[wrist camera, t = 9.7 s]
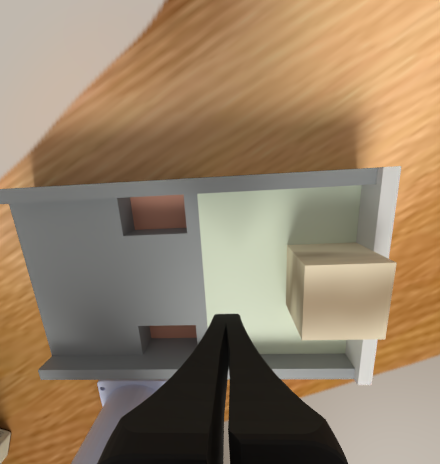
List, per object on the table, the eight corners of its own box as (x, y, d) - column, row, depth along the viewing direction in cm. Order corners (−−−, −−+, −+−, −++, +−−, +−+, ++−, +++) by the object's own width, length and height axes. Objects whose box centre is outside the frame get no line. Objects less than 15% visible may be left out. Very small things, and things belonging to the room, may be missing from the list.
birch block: (349, 302, 17) (385, 339, 13) (285, 304, 17) (301, 340, 13) (355, 242, 16) (396, 262, 12) (286, 245, 16) (304, 265, 12)
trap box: (341, 341, 21) (371, 384, 16) (73, 344, 22) (35, 385, 18) (357, 169, 17) (401, 166, 13) (34, 188, 19) (-26, 190, 14)
